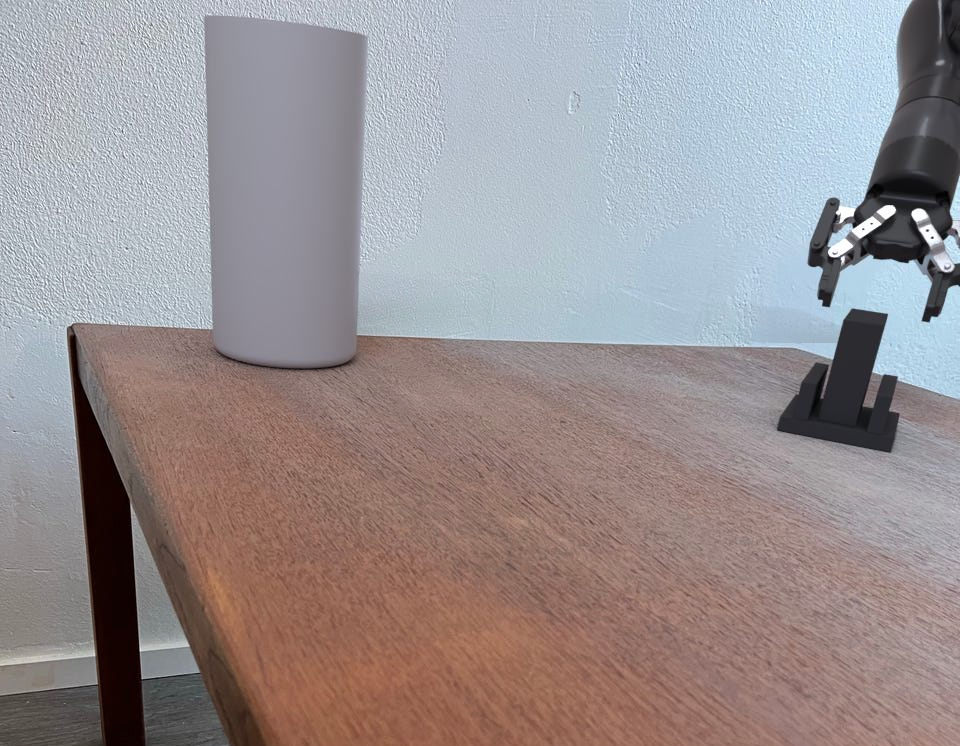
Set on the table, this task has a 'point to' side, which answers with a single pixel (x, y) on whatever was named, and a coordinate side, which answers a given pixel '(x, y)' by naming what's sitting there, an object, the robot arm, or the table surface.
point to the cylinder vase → (285, 189)
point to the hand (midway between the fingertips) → (876, 308)
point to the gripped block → (852, 366)
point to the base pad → (869, 431)
